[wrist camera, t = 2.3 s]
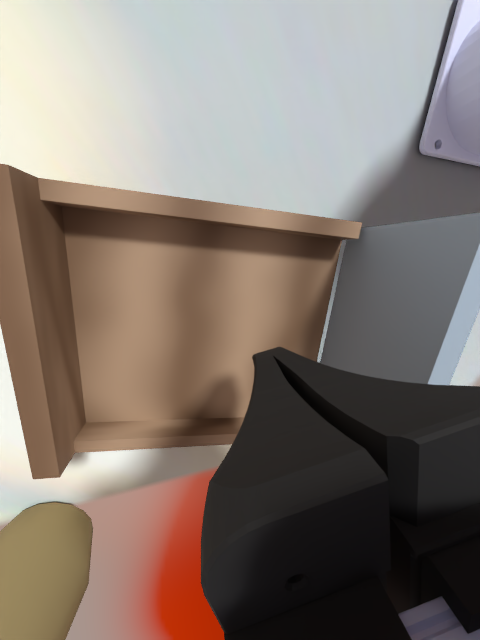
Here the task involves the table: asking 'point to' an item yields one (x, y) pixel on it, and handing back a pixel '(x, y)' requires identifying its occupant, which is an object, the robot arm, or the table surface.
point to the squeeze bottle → (43, 571)
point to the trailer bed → (149, 311)
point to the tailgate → (406, 300)
